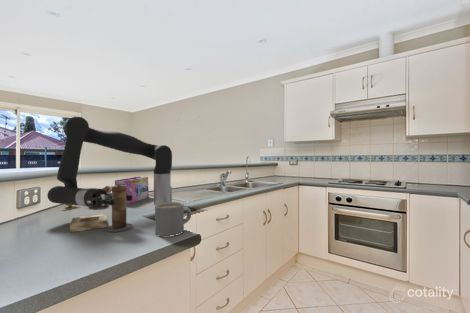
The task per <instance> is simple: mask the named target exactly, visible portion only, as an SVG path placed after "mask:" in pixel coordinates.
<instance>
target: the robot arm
mask: <svg viewBox="0 0 470 313" xmlns="http://www.w3.org/2000/svg"><path fill="white" fill-rule="evenodd" d="M63 133H64V136H66V138H65V139H66V140H65V145H64V149H63V152H62V155H61V158H60V162H59V167H58V170H57V175H56V180H57V181H59V182H60V183H63V185H64V186H63V185H56V186H52V187H51V188H50V189H49V190H48V192H47V194H46V195H47V196H46V197H47V199H48V200H49V202H51V203H53V204H61V205H65V204H68V205H69V204H73V205H72V206H79V207H80V206H81V207H84V208H86V207H87V208H96V209H99V208H103V207H104V205H105V206H112V205H115V200H114V199H112V192H111V193H107V192H106V191H105V190H104V189H102V188H97V187H86V188H83V187H78V180H77V176H78V171H79V165H80V160H81V159H80V158H81V152H82V149H83V145H84V143H89V144H93V145H98V146H101V147H105V148H109V149H113V150H116V151H119V152H123V153H128V154H133V155H139V156H143V157H146V158H149V159H151V160H154V161H155V166H154V169H153V205H154V206H155V205H157V204H160V203H166V202H173V189H172V188H173V187H172V184H171V183H172V182H171V181H172V179H171V178H172V176H171V170H172V167H173V166H172V165H173V152H172V150H171V148H170V147H169V146H167V145H156V144H153V143H148V142H145V141H143V140H141V139H139V138H137V137H135V136H132V135H129V134H126V133H123V132H118V131H106V130H105V131H104V130H103V131H102V130H99V129H94V128H91V127H90V124H89V122H88V121H87V119H85V118H83V117H81V116H78V115H77V116H72V117H70V118H69V119H68V120H67V121H66V122H65V124H64V127H63ZM126 201H132V195H128V193H126Z"/></svg>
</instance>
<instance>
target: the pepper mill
mask: <svg viewBox="0 0 470 313" xmlns="http://www.w3.org/2000/svg"><path fill="white" fill-rule="evenodd" d="M110 187H111V193H112V199H114V200H115V205H111V225H112V228H113V229H120V228H124V227H126V226H127V224H128V223H127V221H128V220H127V204H126V190H127V187H126V185H121V183H120V182H118V183H117V185H116V186H115V185H112V186H110Z"/></svg>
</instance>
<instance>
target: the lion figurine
mask: <svg viewBox="0 0 470 313" xmlns="http://www.w3.org/2000/svg"><path fill="white" fill-rule="evenodd" d="M101 189H104V190H105V191H106V192H107V193H112V191H111V186H109V185H106V186H105V187H103V188H101Z"/></svg>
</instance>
